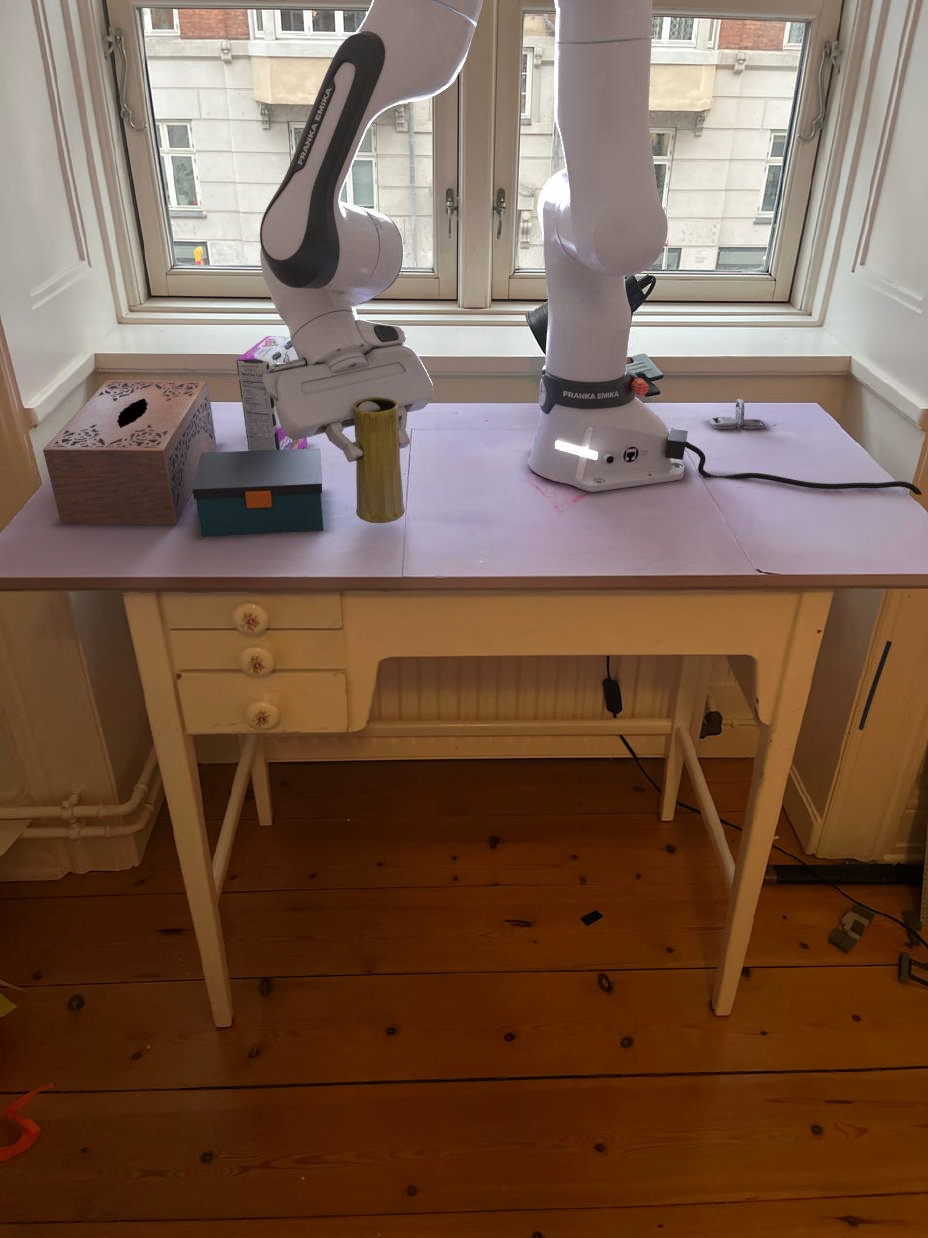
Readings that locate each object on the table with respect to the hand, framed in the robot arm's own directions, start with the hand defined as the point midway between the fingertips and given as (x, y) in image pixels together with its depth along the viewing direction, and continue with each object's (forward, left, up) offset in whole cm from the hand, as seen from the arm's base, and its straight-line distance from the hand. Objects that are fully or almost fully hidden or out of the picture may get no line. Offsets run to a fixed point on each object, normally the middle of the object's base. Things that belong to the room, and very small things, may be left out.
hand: (380, 452), depth 112 cm
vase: (0, -1, -9) cm, 9 cm away
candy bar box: (+14, -24, -10) cm, 29 cm away
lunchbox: (+15, -6, -10) cm, 19 cm away
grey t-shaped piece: (-59, -30, -10) cm, 67 cm away
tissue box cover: (+32, -17, -10) cm, 38 cm away
